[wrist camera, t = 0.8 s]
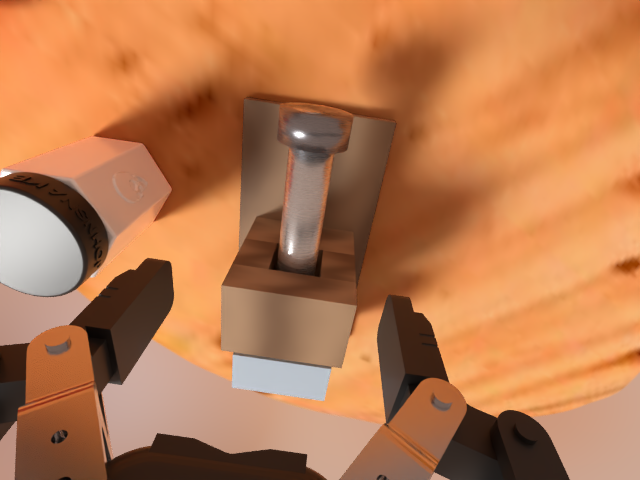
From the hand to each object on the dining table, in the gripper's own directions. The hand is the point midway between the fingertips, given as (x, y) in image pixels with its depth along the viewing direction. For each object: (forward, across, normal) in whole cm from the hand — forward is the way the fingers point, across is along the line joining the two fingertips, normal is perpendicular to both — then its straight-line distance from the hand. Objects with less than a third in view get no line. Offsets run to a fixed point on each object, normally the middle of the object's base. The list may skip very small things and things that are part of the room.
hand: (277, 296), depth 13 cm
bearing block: (+20, 0, +9) cm, 22 cm away
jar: (+20, +17, +5) cm, 27 cm away
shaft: (+15, 0, +7) cm, 17 cm away
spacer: (+18, 0, +16) cm, 24 cm away
